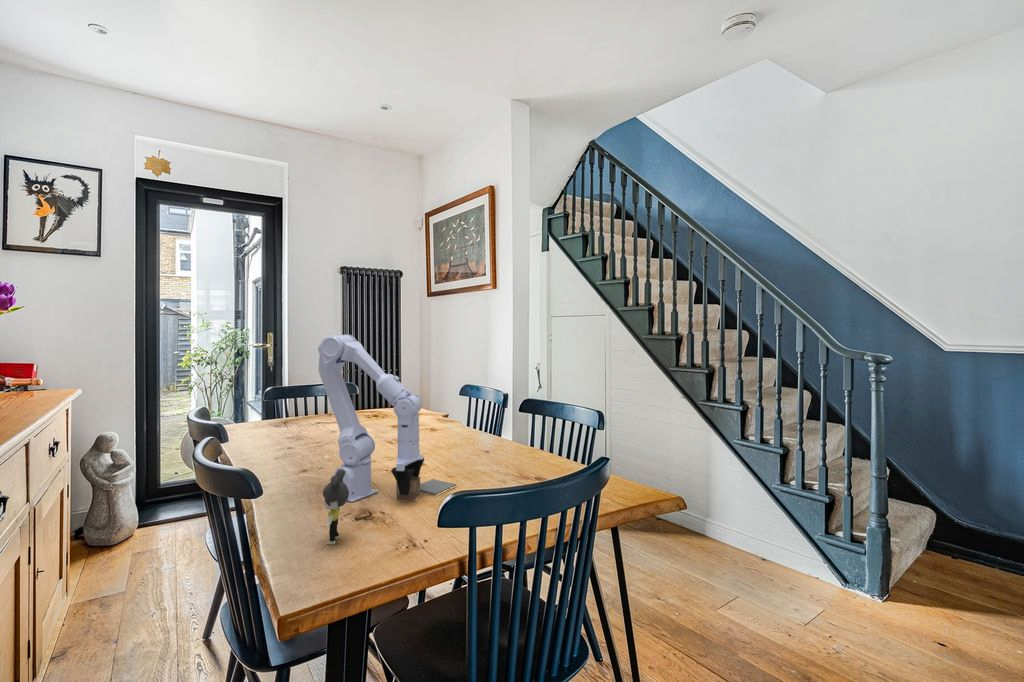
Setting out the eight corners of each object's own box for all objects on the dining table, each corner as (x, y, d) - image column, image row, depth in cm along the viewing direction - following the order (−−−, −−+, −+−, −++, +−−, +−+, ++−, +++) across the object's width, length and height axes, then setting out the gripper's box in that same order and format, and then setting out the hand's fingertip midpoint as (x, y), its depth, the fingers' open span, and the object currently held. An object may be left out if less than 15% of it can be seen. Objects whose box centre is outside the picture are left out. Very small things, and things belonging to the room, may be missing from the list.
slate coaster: (436, 496, 136) (436, 493, 136) (411, 490, 141) (411, 487, 140) (456, 486, 144) (456, 484, 144) (432, 481, 148) (432, 479, 148)
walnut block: (414, 501, 132) (414, 482, 132) (396, 500, 133) (396, 481, 133) (420, 494, 137) (420, 476, 137) (402, 494, 138) (402, 476, 138)
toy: (329, 533, 112) (329, 467, 111) (354, 532, 112) (353, 466, 112) (317, 550, 103) (316, 479, 103) (344, 550, 104) (343, 478, 103)
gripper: (414, 446, 127) (415, 499, 127) (430, 434, 141) (430, 481, 142) (388, 446, 128) (388, 498, 128) (405, 433, 142) (406, 480, 143)
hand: (408, 489), depth 135 cm, fingers open, 7 cm apart
